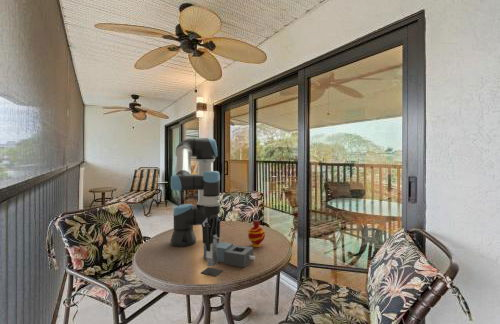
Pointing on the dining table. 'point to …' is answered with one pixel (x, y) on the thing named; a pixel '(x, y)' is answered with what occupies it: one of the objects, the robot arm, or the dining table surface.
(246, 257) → the block with square socket
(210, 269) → the mat
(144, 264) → the dining table surface
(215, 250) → the gray block with peg
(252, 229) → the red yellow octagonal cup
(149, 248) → the dining table surface
